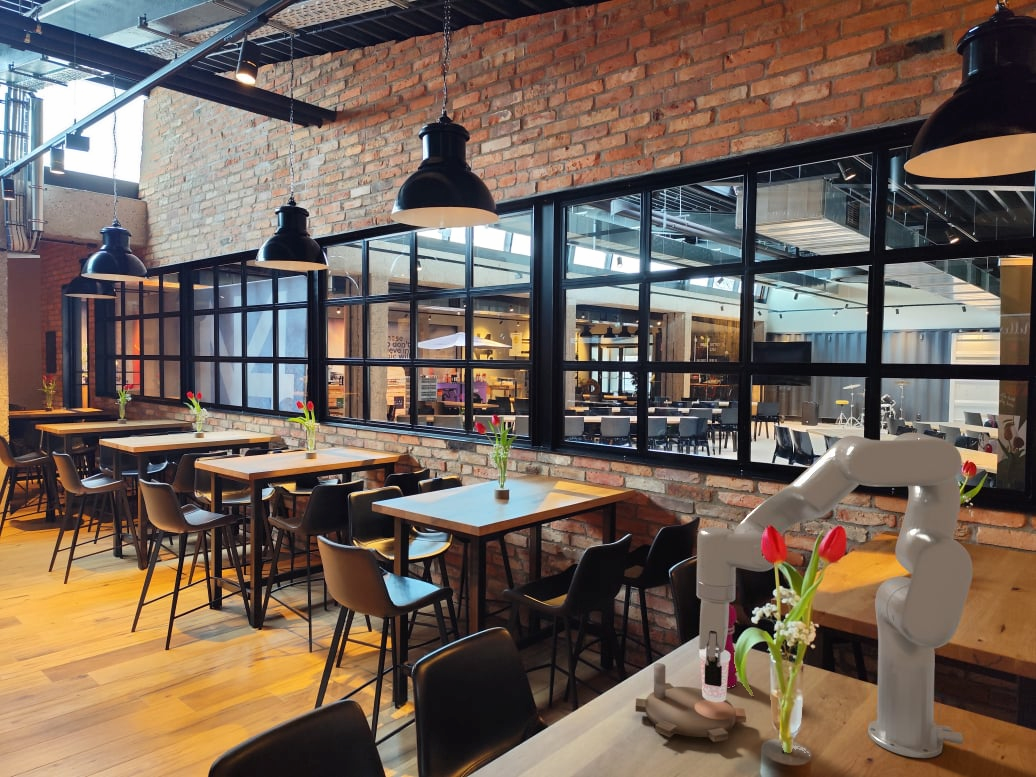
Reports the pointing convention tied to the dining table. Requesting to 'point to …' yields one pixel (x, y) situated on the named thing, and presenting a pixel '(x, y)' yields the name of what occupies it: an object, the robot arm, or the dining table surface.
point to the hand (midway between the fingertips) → (714, 676)
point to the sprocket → (687, 710)
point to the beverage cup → (717, 692)
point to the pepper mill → (731, 648)
